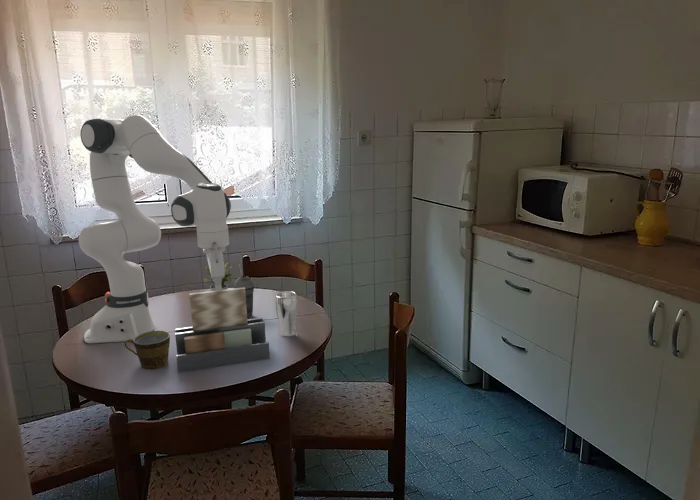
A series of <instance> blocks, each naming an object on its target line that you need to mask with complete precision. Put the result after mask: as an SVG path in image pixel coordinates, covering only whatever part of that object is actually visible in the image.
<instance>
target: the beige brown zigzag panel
mask: <svg viewBox="0 0 700 500" xmlns="http://www.w3.org/2000/svg"><path fill="white" fill-rule="evenodd" d="M189 304H190V312H191V314H190V315H191V325H192V327H193V331H196V330H203V329H211V328H219V327H226V326H234V325H241V324H248V322H247V320H248V319H247V308H246V294H245V287H243V288H234V287H233V288H228V289H225V290H219V291H216V290H215V291H211V290H208V291H199V292H191V293H190V292H189Z"/></svg>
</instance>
